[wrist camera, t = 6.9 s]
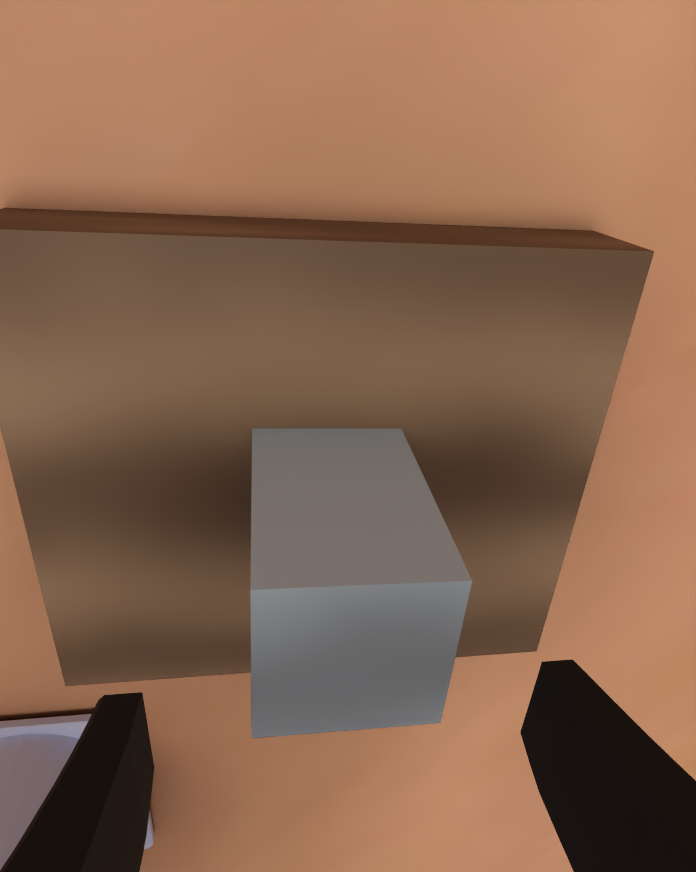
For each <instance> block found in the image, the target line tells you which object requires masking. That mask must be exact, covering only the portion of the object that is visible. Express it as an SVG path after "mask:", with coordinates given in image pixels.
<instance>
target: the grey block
mask: <svg viewBox="0 0 696 872" xmlns="http://www.w3.org/2000/svg"><path fill="white" fill-rule="evenodd" d="M471 584H472V579H471V577H470V575H469V572H468V570H467V568H466V566H465V564H464V562H463V560H462V557H461V555H460V553H459V551H458V549H457V547H456V545H455V542H454V540H453V538H452V536H451V534H450V532H449V530H448V527H447V525H446V523H445V521H444V519H443V517H442V515H441V512H440V510H439V508H438V506H437V504H436V502H435V500H434V497H433V495H432V493H431V491H430V489H429V487H428V485H427V482H426V480H425V478H424V476H423V474H422V472H421V470H420V467H419V465H418V463H417V461H416V459H415V457H414V455H413V452H412V450H411V448H410V446H409V444H408V442H407V440H406V437H405V435H404V433H403V431H402V429H351V428H252V490H251V582H250V601H251V727H252V738H262V737H274V736H286V735H299V734H311V733H324V732H336V731H348V730H361V729H373V728H386V727H398V726H411V725H423V724H435V723H441V718H442V714H443V709H444V705H445V700H446V696H447V691H448V687H449V682H450V678H451V674H452V669H453V665H454V660H455V656H456V651H457V647H458V642H459V638H460V633H461V629H462V625H463V620H464V616H465V611H466V607H467V602H468V598H469V593H470V589H471Z"/></svg>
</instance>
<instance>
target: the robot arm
mask: <svg viewBox="0 0 696 872" xmlns="http://www.w3.org/2000/svg"><path fill="white" fill-rule="evenodd" d="M521 736H522V739H523V742H524V745H525V749H526V752H527V755H528V759H529V762H530V765H531V768H532V771H533V774H534V778H535V781H536V784H537V787H538V790H539V792H540V795H541V797H542V800H543V802H544V804H545V807H546V809H547V811H548V814H549V816H550V818H551V821H552V823H553V825H554V827H555V830H556V832H557V834H558V837H559V839H560V841H561V844H562V846H563V848H564V850H565V853H566V855H567V857H568V859H569V862H570V864H571V866H572V869H573V871H574V872H696V781H695V780H694V779H693V778H692V777H691V776H690V775H689V774H688V773H687V772H686V771H685V770H684V769H683V768H681V767H680V766H679V765H678V764H677V763H676V762H675V761H674V760H673V759H672V758H671V757H670V756H669V755H668V754H667V753H666V752H665V751H664V750H663V749H662V748H661V747H660V746H659V745H657V744H656V743H655V742H654V741H653V740H652V739H651V738H650V737H649V736H648V735H647V734H646V733H645V732H644V731H643V730H642V729H641V728H640V727H639V726H638V725H637V724H636V723H635V722H634V721H633V720H632V719H631V718H630V717H629V716H628V715H627V714H626V713H625V712H624V711H623V710H622V709H621V708H620V707H619V706H618V705H617V704H616V703H615V702H614V701H613V700H612V699H611V698H610V697H609V696H608V695H607V694H606V693H605V692H604V691H603V690H602V689H601V688H600V687H599V686H598V685H597V684H596V683H595V682H594V681H593V680H592V679H591V678H590V676H589V675H588V674H587V673H586V672H585V671H584V670H583V669H582V668H581V667H580V666H579V665H578V664H577V663H576V662H575V661H573V660H560V661H547V662H542V664H541V667H540V671H539V674H538V677H537V680H536V684H535V687H534V690H533V693H532V697H531V700H530V703H529V707H528V710H527V713H526V716H525V720H524V723H523V726H522V729H521ZM153 773H154V764H153V757H152V751H151V745H150V738H149V732H148V726H147V719H146V713H145V707H144V701H143V694H142V692H141V693H128V694H115V695H104V696H103V697H102V698H101V699H100V700H98V702H97V704H96V706H95V708H94V711H93V713H92V714H82V715H70V716H58V717H45V718H33V719H21V720H8V721H0V872H139V871H140V866H141V861H142V856H143V851H144V850H145V849H148V848H150V847H151V846H152V845H153V842H154V830H153V825H152V819H151V814H150V801H151V792H152V782H153Z"/></svg>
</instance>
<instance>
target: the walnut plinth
mask: <svg viewBox="0 0 696 872" xmlns="http://www.w3.org/2000/svg"><path fill="white" fill-rule="evenodd" d="M653 253H654V251H651V250H648V249H645V248H642V247H639V246H636V245H633V244H631V243H628V242H625V241H622V240H619V239H616V238H613V237H610V236H607V235H604V234H601V233H598V232H595V231H584V230H558V229H532V228H506V227H481V226H455V225H429V224H404V223H378V222H352V221H326V220H301V219H275V218H249V217H224V216H198V215H172V214H146V213H121V212H95V211H69V210H44V209H18V208H3V209H0V427H1V431H2V435H3V439H4V443H5V447H6V451H7V455H8V459H9V463H10V467H11V471H12V475H13V479H14V483H15V487H16V491H17V495H18V499H19V503H20V507H21V511H22V515H23V519H24V523H25V527H26V531H27V535H28V539H29V543H30V547H31V551H32V555H33V559H34V563H35V567H36V571H37V574H38V578H39V582H40V586H41V590H42V594H43V598H44V602H45V606H46V610H47V614H48V618H49V622H50V626H51V630H52V634H53V638H54V642H55V646H56V650H57V654H58V658H59V662H60V666H61V670H62V674H63V678H64V682H65V686H74V685H88V684H101V683H115V682H128V681H142V680H155V679H169V678H182V677H196V676H209V675H223V674H236V673H250V672H251V601H250V582H251V490H252V428H351V429H402V431H403V433H404V435H405V437H406V440H407V442H408V444H409V446H410V448H411V450H412V452H413V455H414V457H415V459H416V461H417V463H418V465H419V467H420V470H421V472H422V474H423V476H424V478H425V480H426V482H427V485H428V487H429V489H430V491H431V493H432V495H433V497H434V500H435V502H436V504H437V506H438V508H439V510H440V512H441V515H442V517H443V519H444V521H445V523H446V525H447V527H448V530H449V532H450V534H451V536H452V538H453V540H454V542H455V545H456V547H457V549H458V551H459V553H460V555H461V557H462V560H463V562H464V564H465V566H466V568H467V570H468V572H469V575H470V577H471V579H472V584H471V589H470V593H469V598H468V602H467V607H466V611H465V616H464V620H463V625H462V629H461V633H460V638H459V642H458V647H457V651H456V656H455V657H466V656H479V655H493V654H506V653H520V652H533V651H537V648H538V644H539V641H540V637H541V634H542V631H543V627H544V624H545V620H546V617H547V614H548V610H549V607H550V603H551V600H552V597H553V593H554V590H555V587H556V583H557V580H558V576H559V573H560V570H561V566H562V563H563V559H564V556H565V553H566V549H567V546H568V542H569V539H570V536H571V532H572V529H573V525H574V522H575V519H576V515H577V512H578V508H579V505H580V502H581V498H582V495H583V491H584V488H585V485H586V481H587V478H588V474H589V471H590V468H591V464H592V461H593V457H594V454H595V451H596V447H597V444H598V440H599V437H600V434H601V430H602V427H603V423H604V420H605V417H606V413H607V410H608V406H609V403H610V400H611V396H612V393H613V389H614V386H615V383H616V379H617V376H618V372H619V369H620V366H621V362H622V359H623V355H624V352H625V349H626V345H627V342H628V338H629V335H630V332H631V328H632V325H633V321H634V318H635V315H636V311H637V308H638V304H639V301H640V298H641V294H642V291H643V287H644V284H645V281H646V277H647V274H648V270H649V267H650V264H651V260H652V257H653Z"/></svg>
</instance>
